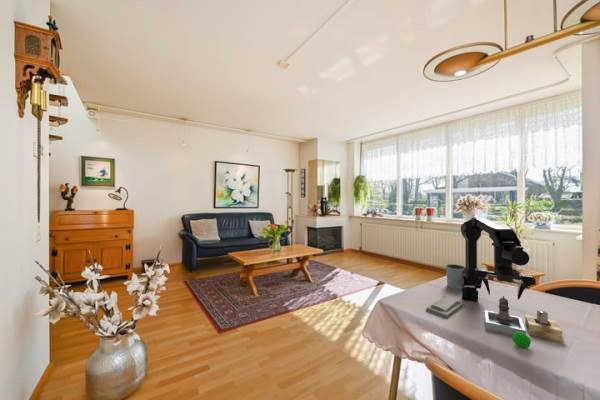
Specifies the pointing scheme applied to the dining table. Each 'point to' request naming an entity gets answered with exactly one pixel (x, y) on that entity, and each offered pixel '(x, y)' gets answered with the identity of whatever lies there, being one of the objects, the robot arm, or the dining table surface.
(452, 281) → the grey-blue cylindrical pot
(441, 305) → the grey stepped plate
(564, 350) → the dining table surface
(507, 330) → the tray
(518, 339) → the green ball
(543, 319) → the pin
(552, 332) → the square wooden frame
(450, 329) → the dining table surface
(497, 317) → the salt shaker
